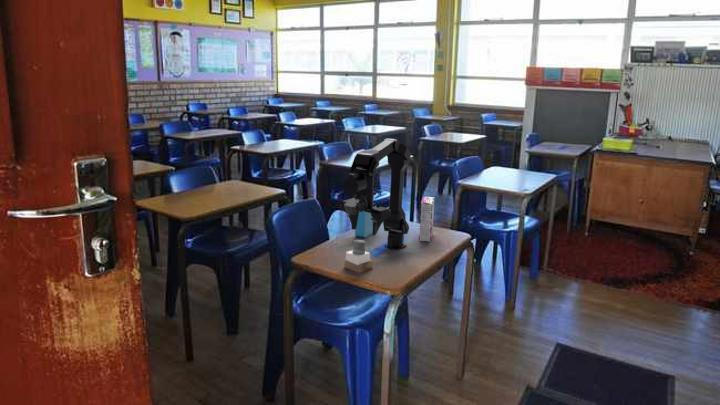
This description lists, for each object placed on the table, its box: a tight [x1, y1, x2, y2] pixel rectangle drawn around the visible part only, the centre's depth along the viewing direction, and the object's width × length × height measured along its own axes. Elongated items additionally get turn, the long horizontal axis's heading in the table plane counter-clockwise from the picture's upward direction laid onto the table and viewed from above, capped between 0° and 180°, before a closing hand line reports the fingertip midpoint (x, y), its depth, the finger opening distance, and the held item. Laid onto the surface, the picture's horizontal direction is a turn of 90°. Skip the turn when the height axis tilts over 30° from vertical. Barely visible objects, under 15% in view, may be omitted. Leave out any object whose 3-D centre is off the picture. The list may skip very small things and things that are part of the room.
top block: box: [345, 249, 371, 265], centre depth 187 cm, size 6×6×3 cm
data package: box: [354, 205, 378, 239], centre depth 224 cm, size 12×4×12 cm, turn 156°
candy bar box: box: [418, 196, 435, 243], centre depth 221 cm, size 11×5×16 cm, turn 168°
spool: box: [352, 239, 366, 255], centre depth 187 cm, size 4×4×4 cm
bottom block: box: [343, 259, 373, 273], centre depth 188 cm, size 7×7×3 cm
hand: (364, 232), depth 186 cm, fingers open, 9 cm apart
